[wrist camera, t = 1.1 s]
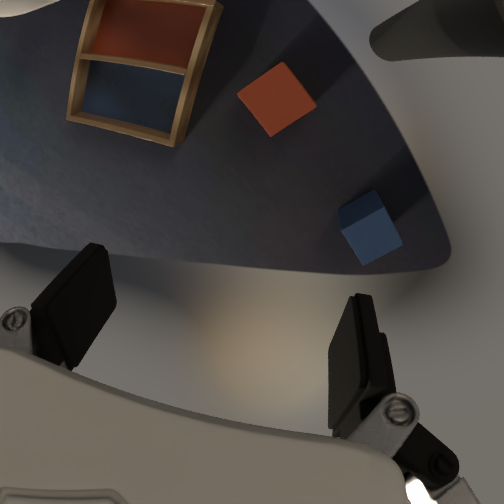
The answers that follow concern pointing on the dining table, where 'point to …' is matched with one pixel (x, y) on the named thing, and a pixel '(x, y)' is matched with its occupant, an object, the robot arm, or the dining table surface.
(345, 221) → the blue block
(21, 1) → the mug
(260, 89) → the terracotta block
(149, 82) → the tray
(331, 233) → the dining table surface
